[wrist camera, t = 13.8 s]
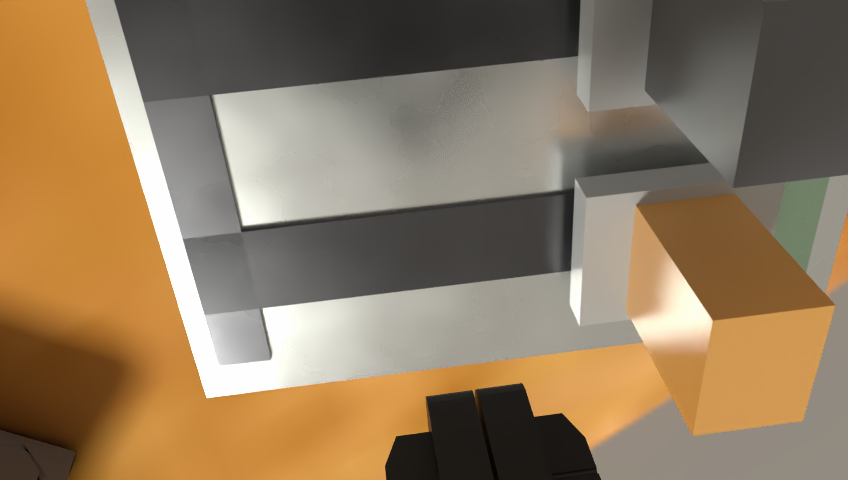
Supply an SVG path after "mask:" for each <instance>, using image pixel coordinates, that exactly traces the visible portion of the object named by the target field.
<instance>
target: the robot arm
mask: <svg viewBox="0 0 848 480" xmlns="http://www.w3.org/2000/svg"><path fill="white" fill-rule="evenodd" d="M426 407H427V417H428V427H429V432H425V433H418V434H410V435H403V436H396V439H395V441H394V444H393V447H392V449H391V452H390V455H389V457H388V460H387V462H386V465H385V470H386V480H601V478H600V476H599V474H598V473H597V469H596V465H595V462H594V460H593V457H592V454H591V452H590V449H589V446H588V444H587V441H586V438H585V437H584V436H583V435H582V434H581V433H580V432H579V431H578V430H577V428H576V427H575V426H574V425H573V424H572V423H571V422H570V421H569V420H568V419H567V418H566V417H565V416H564V415H563V414H562V413H560V414H552V415H545V416H538V417H534V415H533V412H532V409H531V406H530V403H529V400H528V396H527V393H526V390H525V388H524V386H523V384H522V383H520V384H513V385H505V386H498V387H491V388H483V389H476V390H475V397H474V394H473V391H472V390H470V391H463V392H456V393H448V394H441V395H434V396H426Z"/></svg>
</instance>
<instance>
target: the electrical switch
mask: <svg viewBox="0 0 848 480" xmlns="http://www.w3.org/2000/svg"><path fill="white" fill-rule="evenodd" d="M0 444H1V445H0V480H37V479H38V476H39V479H40V480H67V479H68V476H69V473H70V471H71V468H72V465H73V463H74V460H75V458H74V456H75V453H76V452H75V451H72V450H68V449H65V448H61V447H58V446H54V445H51V444H48V443H44V442H41V441H37V440H34V439H30V438H27V437H23V436H20V435H16V434H13V433H9V432H6V431H2V430H0ZM25 449H28V451H29V452H30V453H31V454H30V453H28V452H27V451H26V450H25ZM76 455H77V454H76ZM75 457H76V456H75ZM73 459H74V460H73Z"/></svg>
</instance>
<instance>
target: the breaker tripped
mask: <svg viewBox="0 0 848 480" xmlns="http://www.w3.org/2000/svg"><path fill="white" fill-rule="evenodd" d="M784 185H785V182H782V183H774V184H765V185H756V186H748V187H739V188H733V187H732V186H731V185H730V184H729V183H728V182H727V181H726V180H725V179H724V177H723V176H722V175H721V174H720V173H719V172H718V171H717V170H716V169H715V168H714V166H713V165H712V164H711V163H703V164H695V165H686V166H677V167H668V168H660V169H651V170H642V171H634V172H625V173H616V174H607V175H599V176H590V177H581V178H575V191H574V214H573V236H572V259H571V282H570V306H571V308H572V310H573V313H574V315H575V317H576V319H577V322H578V324H579V326H584V325H592V324H600V323H608V322H616V321H624V320H632V322H633V324H634V326H635V328H636V330H637V332H638V333H639V335H640V337H641V339H642V341H643V343H644V345H645V347H646V349H647V350H648V352H649V354H650V356H651V358H652V360H653V362H654V364H655V366H656V367H657V369H658V371H659V373H660V375H661V377H662V379H663V381H664V382H665V384H666V386H667V388H668V390H669V392H670V394H671V396H672V398H673V399H674V401H675V403H676V405H677V407H678V409H679V411H680V413H681V415H682V416H683V418H684V420H685V422H686V424H687V426H688V428H689V429H690V431H691V433H692V435H693V436H695V435H703V434H710V433H717V432H725V431H732V430H740V429H747V428H755V427H762V426H769V425H777V424H784V423H792V422H799V421H803V419H804V415H805V411H806V408H807V404H808V401H809V397H810V393H811V390H812V387H813V383H814V380H815V376H816V372H817V369H818V365H819V362H820V358H821V355H822V351H823V348H824V344H825V340H826V337H827V333H828V330H829V326H830V323H831V319H832V316H833V312H834V309H835V304H834V303H833V302H832V301H831V300H830V299H829V298H828V296H827V295H826V294H825V293H824V292H823V291H822V290H821V289H820V288H819V286H818V285H817V284H816V283H815V282H814V281H813V280H812V279H811V278H810V277H809V275H808V274H807V273H806V272H805V271H804V270H803V269H802V268H801V267H800V265H799V264H798V263H797V262H796V261H795V260H794V259H793V258H792V257H791V255H790V254H789V253H788V252H787V251H786V250H785V249H784V248H783V247H782V245H781V244H780V243H779V242H778V241H777V240H776V239H775V238H774V232H775V228H776V223H777V218H778V214H779V209H780V204H781V199H782V195H783V190H784Z"/></svg>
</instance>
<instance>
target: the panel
mask: <svg viewBox="0 0 848 480" xmlns="http://www.w3.org/2000/svg"><path fill="white" fill-rule="evenodd" d="M85 1H86V4H87V8H88V11H89V14H90V17H91V21H92V24H93V27H94V30H95V34H96V37H97V40H98V43H99V47H100V50H101V53H102V57H103V60H104V63H105V66H106V70H107V73H108V76H109V79H110V83H111V86H112V89H113V92H114V96H115V99H116V102H117V106H118V109H119V112H120V115H121V119H122V122H123V125H124V128H125V132H126V135H127V138H128V142H129V145H130V148H131V151H132V155H133V158H134V161H135V164H136V168H137V171H138V174H139V177H140V181H141V184H142V187H143V191H144V194H145V197H146V200H147V204H148V207H149V210H150V213H151V217H152V220H153V223H154V226H155V230H156V233H157V236H158V240H159V243H160V246H161V249H162V253H163V256H164V259H165V262H166V266H167V269H168V272H169V276H170V279H171V282H172V285H173V289H174V292H175V295H176V298H177V302H178V305H179V308H180V311H181V315H182V318H183V321H184V325H185V328H186V331H187V334H188V338H189V341H190V344H191V347H192V351H193V354H194V357H195V360H196V364H197V367H198V370H199V374H200V377H201V380H202V383H203V387H204V390H205V393H206V396H207V398H209V397H217V396H225V395H233V394H241V393H248V392H256V391H264V390H272V389H280V388H288V387H296V386H303V385H311V384H319V383H327V382H335V381H343V380H351V379H359V378H366V377H374V376H382V375H390V374H398V373H406V372H414V371H421V370H429V369H437V368H445V367H453V366H461V365H469V364H476V363H484V362H492V361H500V360H508V359H516V358H524V357H531V356H539V355H547V354H555V353H563V352H571V351H579V350H586V349H594V348H602V347H610V346H618V345H626V344H634V343H641V342H643V341H642V339H641V337H640V335H639V333H638V332H637V330H636V328H635V326H634V324H633V322H632V320H624V321H616V322H608V323H600V324H592V325H584V326H579V324H578V322H577V319H576V317H575V315H574V313H573V310H572V308H571V306H570V282H571V259H572V236H573V214H574V191H575V178H581V177H590V176H599V175H607V174H616V173H625V172H634V171H642V170H651V169H660V168H668V167H677V166H686V165H695V164H703V163H710V162H709V161H708V160H707V159H706V158H705V156H704V155H703V154H702V153H701V152H700V151H699V150H698V149H697V148H696V147H695V145H694V144H693V143H692V142H691V141H690V140H689V139H688V138H687V137H686V136H685V134H684V133H683V132H682V131H681V130H680V129H679V128H678V127H677V126H676V125H675V123H674V122H673V121H672V120H671V119H670V118H669V117H668V116H667V115H666V114H665V112H664V111H663V110H662V109H661V108H660V107H659V106H658V105H657V104H656V105H647V106H638V107H629V108H620V109H611V110H602V111H593V112H588V110H587V109H586V107H585V106H584V104H583V103H582V102H581V100H580V99H579V97H578V96H577V75H578V51H579V28H580V4H581V0H85ZM847 211H848V175H842V176H833V177H825V178H816V179H808V180H799V181H791V182H785V185H784V190H783V195H782V199H781V204H780V209H779V214H778V218H777V223H776V228H775V232H774V238H775V239H776V240H777V241H778V242H779V243H780V244H781V245H782V247H783V248H784V249H785V250H786V251H787V252H788V253H789V254H790V255H791V257H792V258H793V259H794V260H795V261H796V262H797V263H798V264H799V265H800V267H801V268H802V269H803V270H804V271H805V272H806V273H807V274H808V275H809V277H810V278H811V279H812V280H813V281H814V282H815V283H816V284H817V285H818V286H819V288H820V289H821V290H822V291H823V292H824V293H825V292H826V289H827V285H828V281H829V278H830V274H831V270H832V267H833V263H834V259H835V255H836V252H837V248H838V244H839V241H840V237H841V233H842V229H843V226H844V222H845V218H846V215H847Z"/></svg>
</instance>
